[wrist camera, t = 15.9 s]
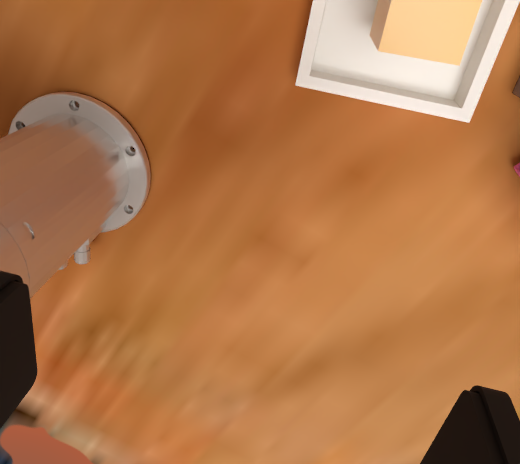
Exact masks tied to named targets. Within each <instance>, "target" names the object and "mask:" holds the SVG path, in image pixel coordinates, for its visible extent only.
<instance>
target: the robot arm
mask: <svg viewBox="0 0 520 464" xmlns="http://www.w3.org/2000/svg"><path fill="white" fill-rule="evenodd" d="M77 102H78V103H77ZM78 104H79V105H78ZM132 147H134V149H135V150H134V149H133V148H132ZM150 179H151V173H150V166H149V160H148V157H147V154H146V151H145V148H144V146H143V145H142V143H141V141H140V139H139V137H138V135H137V134H136V132H135V131H134V130H133V128H132V127H131V126H130V125H129V123H128V122H127V121H126V120H125V119H124V118H123V117H122V116H121V115H120V114H119V113H117V112H116V111H115V110H113V109H112V108H110V107H109V106H108V105H106V104H105V103H103V102H101V101H99V100H97V99H94V98H92V97H90V96H87V95H83V94H79V93H74V92H56V93H50V94H47V95H44V96H41V97H38V98H36V99H34V100H32V101H31V102H29V103H27V104H26V105H25V106H24V107H23V108H22V109H21V110H19V111H18V113H17V114H16V116H15V117H14V119H13V120H12V123H11V126H10V129H9V132H8V135H7V136H4V137H2V138H0V428H1V427H2V426H3V424H4V423H5V422H6V421H7V419H8V418H9V417H10V415H11V414H12V413H13V411H14V410H15V409H16V407H17V406H18V405H19V403H20V402H21V401H22V399H23V398H24V397H25V395H26V394H27V393H28V391H29V390H30V389H31V387H32V386H33V384H34V382H35V379H36V376H37V363H36V353H35V343H34V333H33V324H32V314H31V304H30V298H31V297H32V296H33V295H34V294H35V293H36V292H37V291H38V290H39V289H40V288H41V287H42V286H43V285H44V284H45V283H46V282H47V281H48V280H49V279H50V278H51V277H52V276H53V275H54V274H55V273H56V272H57V271H58V270H61V269H64V268H65V267H67V265H68V259H69V258H70V257H71V256H72V255H73V254H74V260H75V262H76V263H78V264H86V263H88V262H90V259H91V257H90V243H91V242H92V241H93V240H94V238H95V237H96V236H97V235H98V234H99V233H101V232H108V231H112V230H115V229H118V228H120V227H122V226H124V225H125V224H127V223H128V222H129V221H130V220H132V219H133V218H134V217H135V216H136V215H137V213H138V212H139V211H140V210H141V209H142V207H143V205H144V203H145V201H146V199H147V196H148V193H149V189H150ZM420 464H520V421H519V418H518V416H517V413H516V411H515V408H514V406H513V403H512V401H511V399H510V397H509V395H508V394H507V393H505V392H502V391H498V390H494V389H490V388H486V387H482V386H474V387H472V389H471V390H470V391H467V390H464V391H463V392H462V393H461V395H460V396H459V398H458V400H457V401H456V403H455V405H454V406H453V408H452V410H451V412H450V413H449V415H448V417H447V418H446V420H445V422H444V424H443V425H442V427H441V429H440V430H439V432H438V434H437V436H436V437H435V439H434V441H433V442H432V444H431V446H430V448H429V449H428V451H427V453H426V454H425V456H424V458H423V459H422V461H421V463H420Z"/></svg>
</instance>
